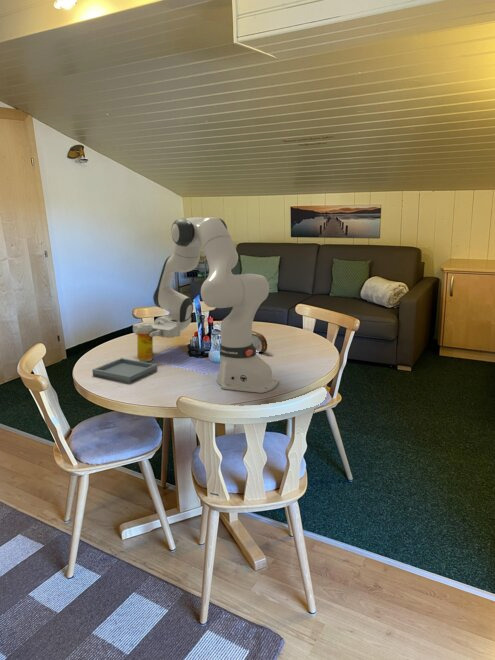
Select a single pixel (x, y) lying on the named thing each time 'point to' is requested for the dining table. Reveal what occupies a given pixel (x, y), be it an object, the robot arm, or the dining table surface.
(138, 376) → the tray
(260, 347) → the tin
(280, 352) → the dining table surface
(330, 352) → the dining table surface
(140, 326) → the beer can
